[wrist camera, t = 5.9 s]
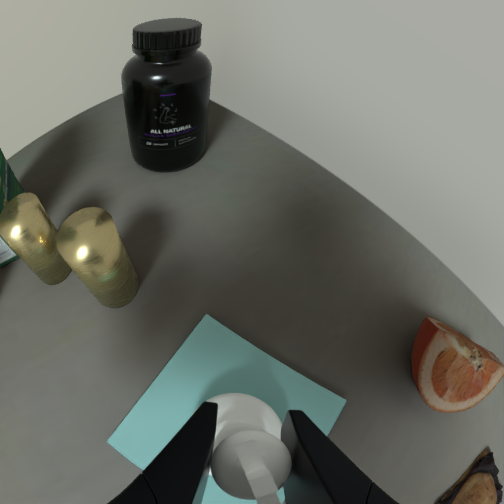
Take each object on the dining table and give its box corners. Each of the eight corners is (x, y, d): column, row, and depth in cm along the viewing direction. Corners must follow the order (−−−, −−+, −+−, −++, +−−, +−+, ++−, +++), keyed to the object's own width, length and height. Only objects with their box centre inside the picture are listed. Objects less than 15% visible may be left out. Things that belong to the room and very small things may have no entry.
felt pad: (343, 400, 15) (346, 400, 15) (256, 529, 10) (257, 532, 10) (206, 316, 17) (206, 313, 17) (109, 440, 12) (106, 441, 12)
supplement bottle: (166, 187, 22) (155, 42, 12) (118, 154, 23) (98, 33, 13) (222, 147, 25) (236, 23, 15) (172, 120, 27) (171, 11, 16)
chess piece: (265, 381, 14) (336, 328, 6) (295, 462, 12) (406, 515, 3) (174, 406, 13) (97, 394, 4) (204, 489, 11) (184, 593, 2)
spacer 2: (148, 281, 18) (127, 226, 13) (116, 317, 16) (80, 275, 11) (116, 254, 18) (89, 197, 13) (85, 288, 17) (46, 239, 12)
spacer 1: (81, 261, 18) (47, 207, 13) (52, 293, 16) (8, 247, 11) (59, 238, 18) (26, 185, 13) (31, 267, 17) (-9, 220, 12)
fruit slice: (470, 350, 18) (512, 330, 14) (454, 425, 15) (501, 418, 10) (402, 312, 19) (443, 283, 15) (376, 396, 16) (424, 386, 11)
